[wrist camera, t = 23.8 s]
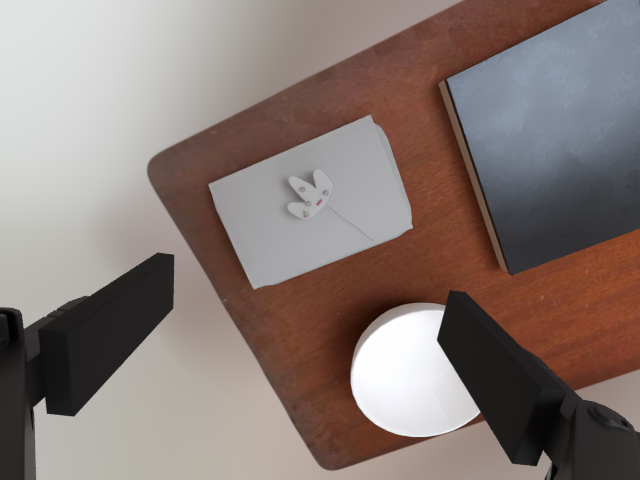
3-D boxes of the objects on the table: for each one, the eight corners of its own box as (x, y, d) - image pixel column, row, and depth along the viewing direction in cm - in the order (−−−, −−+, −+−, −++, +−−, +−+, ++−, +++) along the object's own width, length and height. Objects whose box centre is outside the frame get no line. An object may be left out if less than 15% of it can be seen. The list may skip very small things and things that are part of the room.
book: (417, 228, 42) (427, 236, 38) (256, 291, 44) (251, 304, 40) (378, 111, 38) (385, 107, 34) (204, 186, 40) (192, 190, 37)
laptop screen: (628, -11, 32) (636, -15, 31) (668, 213, 38) (676, 214, 38) (443, 80, 36) (446, 78, 35) (507, 273, 42) (511, 275, 41)
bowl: (444, 261, 43) (468, 283, 36) (491, 365, 48) (521, 402, 41) (323, 320, 45) (324, 350, 39) (379, 414, 50) (388, 457, 43)
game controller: (296, 159, 36) (294, 160, 33) (392, 195, 37) (397, 198, 34) (280, 208, 37) (277, 212, 35) (373, 240, 38) (377, 246, 36)
